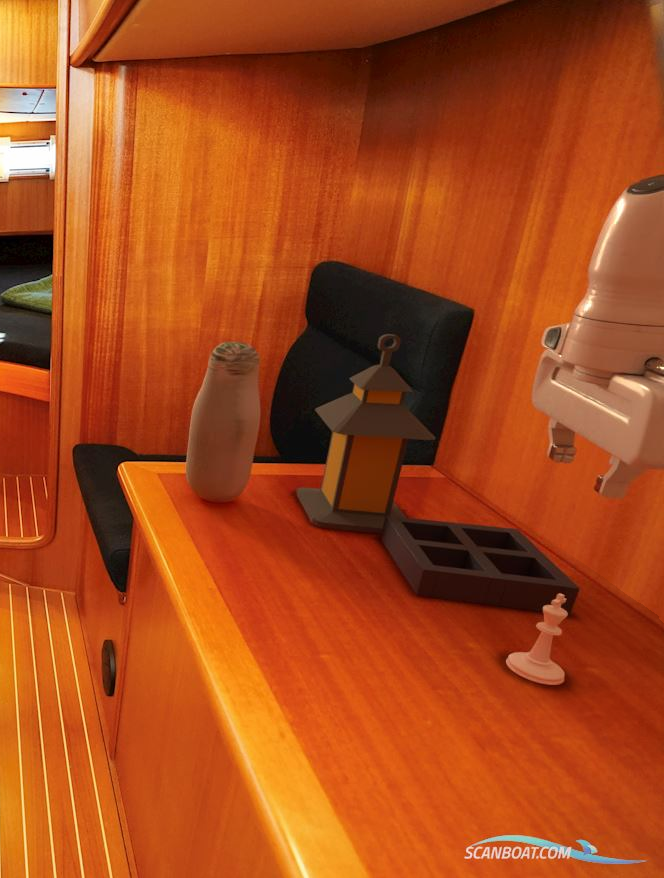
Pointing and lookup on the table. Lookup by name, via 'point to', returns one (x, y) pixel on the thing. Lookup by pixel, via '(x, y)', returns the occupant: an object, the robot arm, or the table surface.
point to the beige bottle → (224, 424)
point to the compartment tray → (475, 564)
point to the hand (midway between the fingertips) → (581, 477)
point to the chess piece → (542, 649)
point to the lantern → (364, 450)
